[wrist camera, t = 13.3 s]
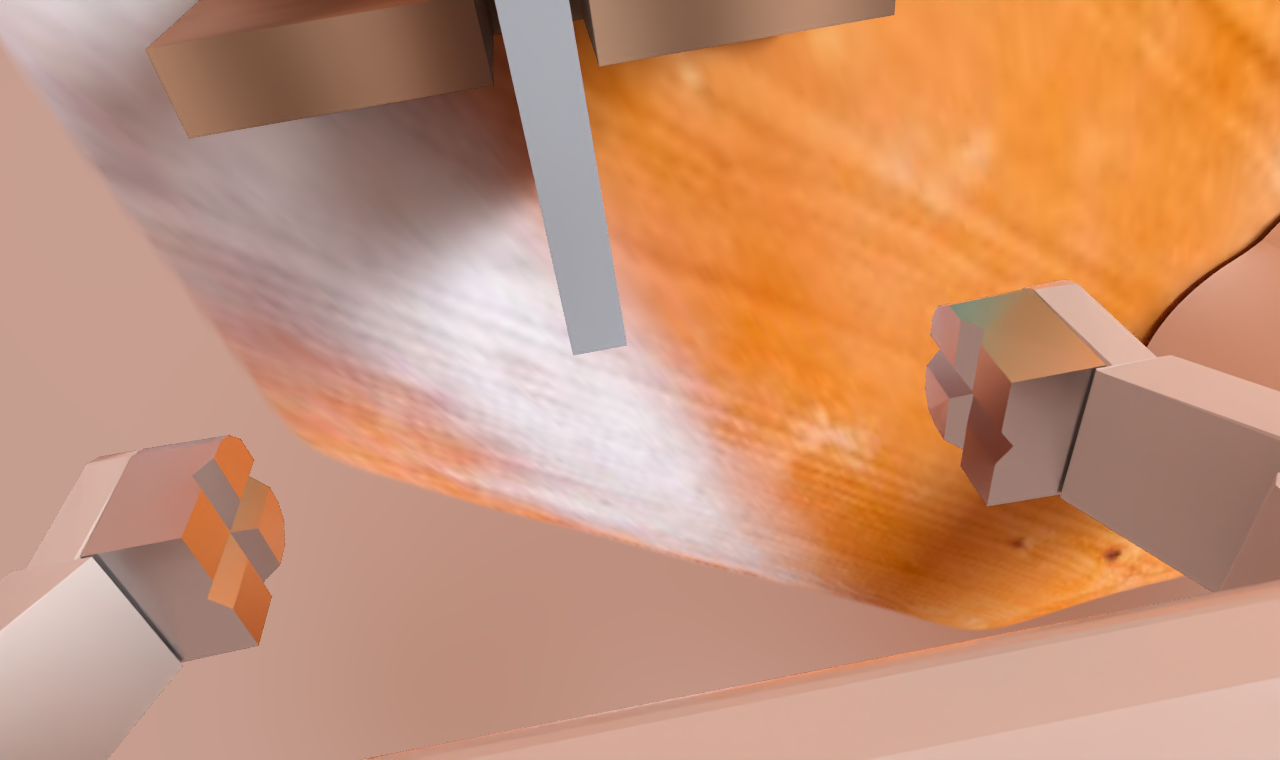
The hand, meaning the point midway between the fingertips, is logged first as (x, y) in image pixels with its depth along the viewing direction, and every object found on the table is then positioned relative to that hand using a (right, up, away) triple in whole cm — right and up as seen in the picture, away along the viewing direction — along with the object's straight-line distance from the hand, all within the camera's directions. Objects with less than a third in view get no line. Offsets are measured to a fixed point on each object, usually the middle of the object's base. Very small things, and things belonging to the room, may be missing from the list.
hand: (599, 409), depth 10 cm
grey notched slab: (-4, +16, +20) cm, 26 cm away
